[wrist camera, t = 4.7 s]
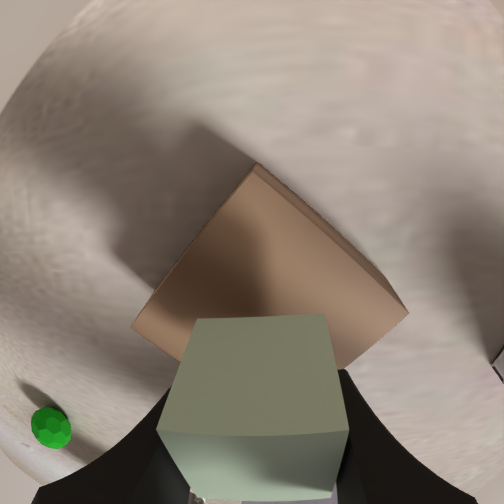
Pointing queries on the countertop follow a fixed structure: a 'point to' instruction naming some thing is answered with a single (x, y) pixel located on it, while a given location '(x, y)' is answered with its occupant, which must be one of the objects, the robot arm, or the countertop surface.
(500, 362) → the candy bar box
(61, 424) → the polyhedron
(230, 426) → the sage block
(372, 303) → the walnut block
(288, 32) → the countertop surface
